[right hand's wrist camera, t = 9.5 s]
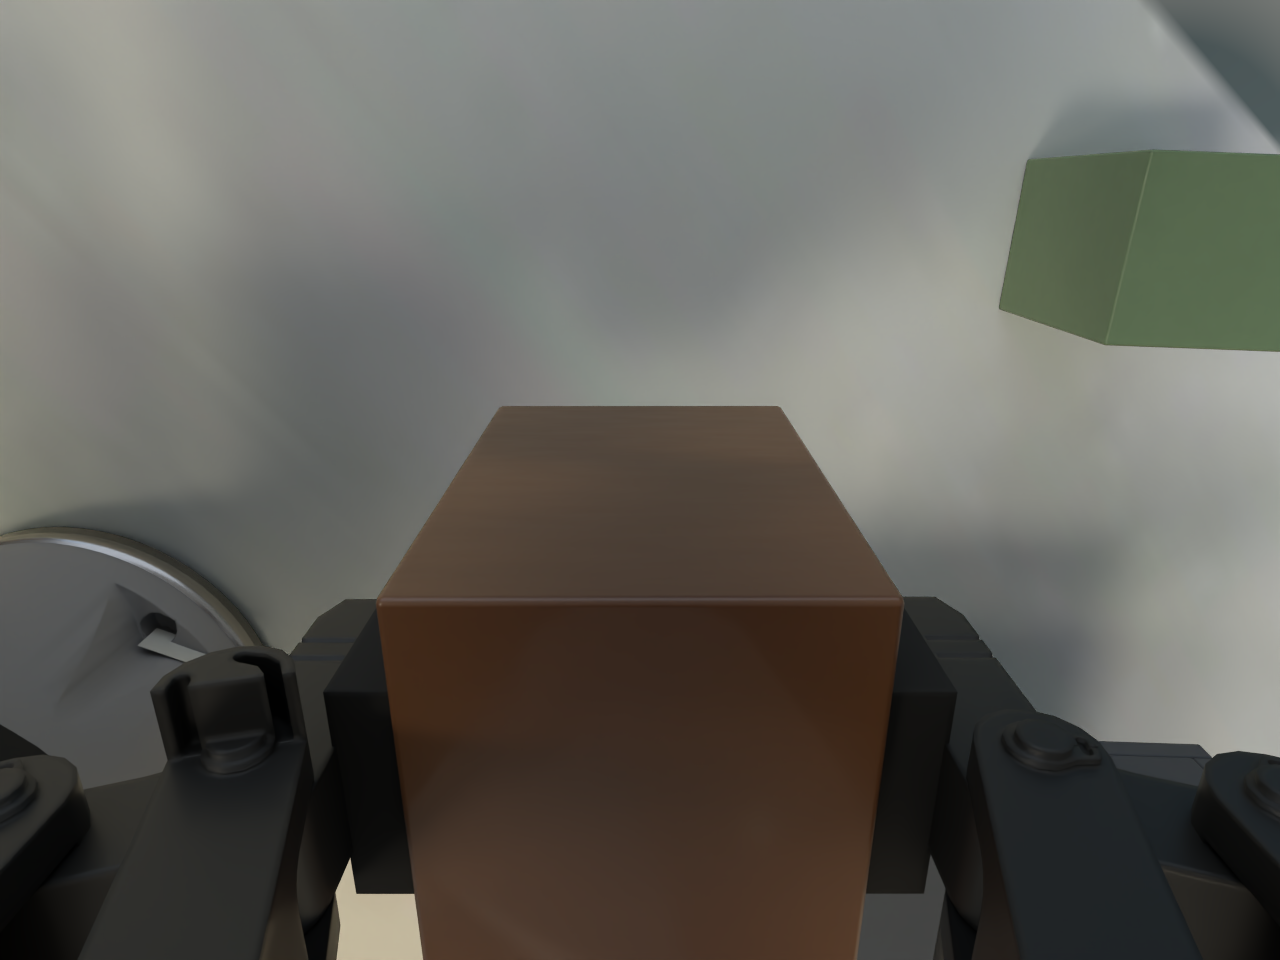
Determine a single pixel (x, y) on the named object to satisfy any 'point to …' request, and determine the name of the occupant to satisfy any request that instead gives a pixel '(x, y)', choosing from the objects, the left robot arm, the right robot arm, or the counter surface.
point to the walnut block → (640, 692)
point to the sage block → (1150, 249)
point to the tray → (910, 922)
